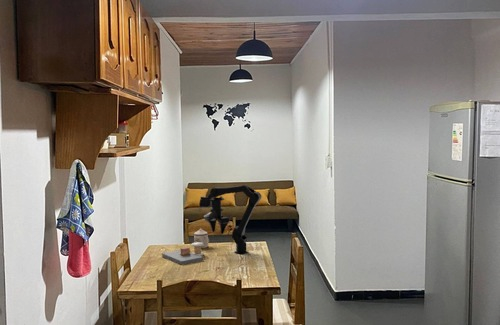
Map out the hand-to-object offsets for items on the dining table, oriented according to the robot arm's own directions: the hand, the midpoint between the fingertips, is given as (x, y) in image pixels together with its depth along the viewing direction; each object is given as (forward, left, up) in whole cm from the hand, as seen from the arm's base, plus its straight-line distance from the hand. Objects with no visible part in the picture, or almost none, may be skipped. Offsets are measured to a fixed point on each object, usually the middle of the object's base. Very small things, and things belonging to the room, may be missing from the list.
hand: (217, 232), depth 289 cm
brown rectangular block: (0, +23, -12) cm, 26 cm away
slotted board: (0, +25, -12) cm, 27 cm away
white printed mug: (+17, +1, -12) cm, 21 cm away
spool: (+1, +14, -12) cm, 18 cm away
